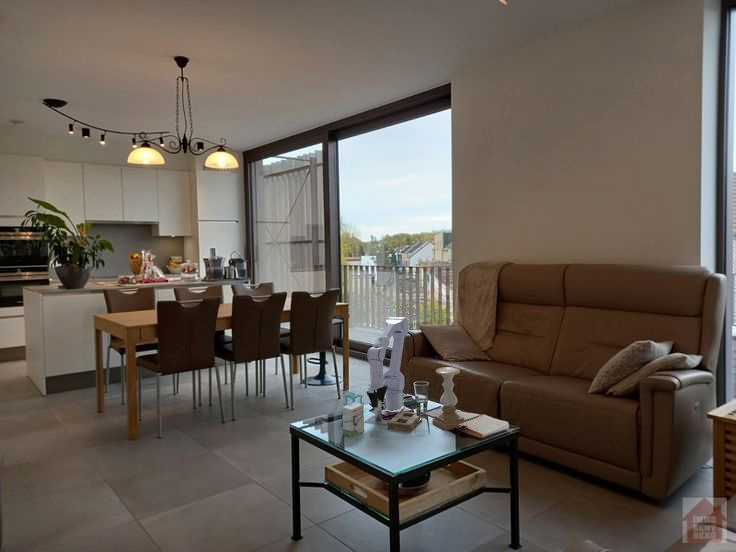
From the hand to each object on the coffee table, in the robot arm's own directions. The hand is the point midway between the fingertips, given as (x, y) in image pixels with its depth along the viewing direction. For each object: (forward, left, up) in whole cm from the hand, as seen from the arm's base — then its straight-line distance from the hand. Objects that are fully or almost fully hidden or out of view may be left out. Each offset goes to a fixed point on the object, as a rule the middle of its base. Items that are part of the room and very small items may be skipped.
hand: (377, 404), depth 236 cm
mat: (0, 0, -7) cm, 7 cm away
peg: (0, 0, -7) cm, 7 cm away
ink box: (+17, -4, -8) cm, 19 cm away
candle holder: (-5, +31, -8) cm, 32 cm away
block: (+1, +13, -7) cm, 15 cm away
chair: (0, -12, -8) cm, 14 cm away
